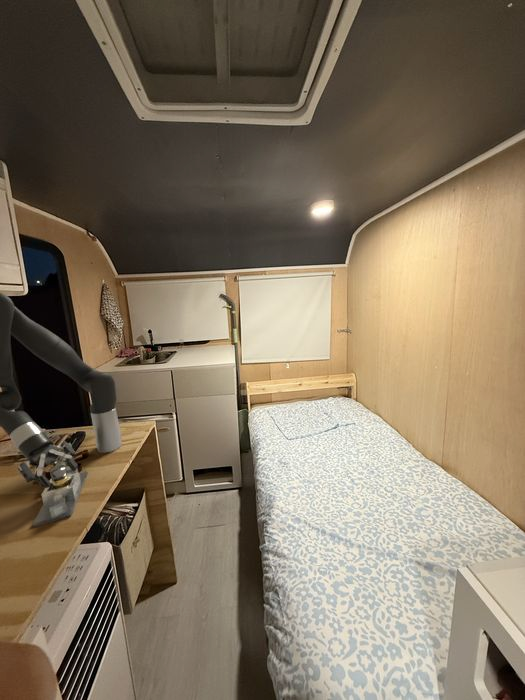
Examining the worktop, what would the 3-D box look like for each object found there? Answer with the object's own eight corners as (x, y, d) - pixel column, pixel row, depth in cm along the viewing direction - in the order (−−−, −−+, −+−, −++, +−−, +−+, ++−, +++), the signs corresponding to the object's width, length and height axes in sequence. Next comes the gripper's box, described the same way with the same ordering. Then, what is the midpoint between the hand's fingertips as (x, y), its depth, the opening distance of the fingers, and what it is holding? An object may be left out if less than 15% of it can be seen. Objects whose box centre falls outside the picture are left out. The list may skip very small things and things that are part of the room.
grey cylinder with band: (61, 490, 91) (55, 465, 90) (73, 489, 92) (68, 464, 90) (52, 498, 88) (46, 473, 86) (65, 498, 88) (59, 472, 86)
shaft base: (58, 480, 98) (55, 467, 97) (87, 473, 101) (85, 461, 100) (33, 527, 78) (29, 511, 77) (70, 516, 81) (67, 501, 80)
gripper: (8, 444, 82) (43, 486, 80) (57, 423, 95) (88, 458, 93) (1, 458, 84) (34, 498, 83) (50, 435, 98) (79, 470, 96)
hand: (62, 477), depth 88 cm, fingers open, 8 cm apart
